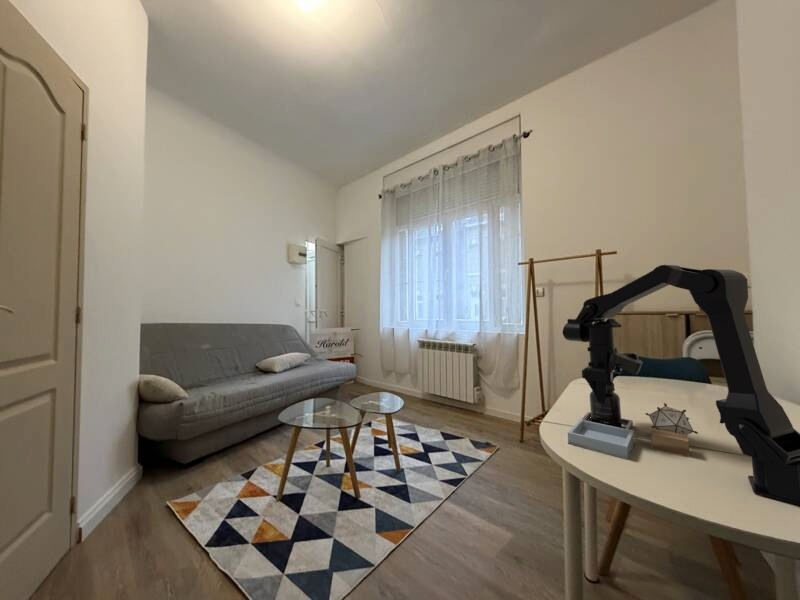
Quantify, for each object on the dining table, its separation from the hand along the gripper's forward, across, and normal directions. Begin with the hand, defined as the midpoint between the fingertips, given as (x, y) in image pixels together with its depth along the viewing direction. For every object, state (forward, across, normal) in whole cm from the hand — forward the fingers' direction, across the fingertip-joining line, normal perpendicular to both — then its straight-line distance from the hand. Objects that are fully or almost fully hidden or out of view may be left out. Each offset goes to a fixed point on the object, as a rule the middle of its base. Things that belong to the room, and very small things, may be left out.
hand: (604, 400), depth 79 cm
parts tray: (+7, -12, -1) cm, 14 cm away
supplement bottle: (+7, 0, 0) cm, 7 cm away
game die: (+7, +1, -13) cm, 15 cm away
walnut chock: (+7, -6, -13) cm, 16 cm away
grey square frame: (+7, 0, 0) cm, 7 cm away
